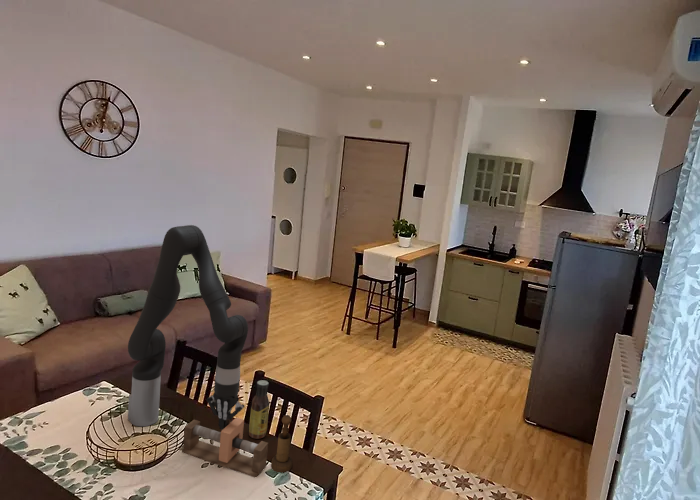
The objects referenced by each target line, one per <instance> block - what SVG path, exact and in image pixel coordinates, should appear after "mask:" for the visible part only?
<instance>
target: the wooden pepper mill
mask: <svg viewBox="0 0 700 500" xmlns="http://www.w3.org/2000/svg"><path fill="white" fill-rule="evenodd" d="M281 422H282V425H283V427H281V432H280V433H279V434H278V439H277V447H276V454H275V455H274V456H273V457H272V459H271V462H270V468H271V470H272V469H273V470H272V471H274V472H275V471H276V472H275V473H278V472H281V474H285V473H288V472H290V471H291V469H292V466H293V459H292V457H291V456H290V446H291V439H292V437H291V436H292V435H291V433H289V432H290V428H289V426H290V424H291V423H292V417H291V415H288V414H285V415H283V417H281ZM282 472H283V473H282ZM284 472H285V473H284Z"/></svg>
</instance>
